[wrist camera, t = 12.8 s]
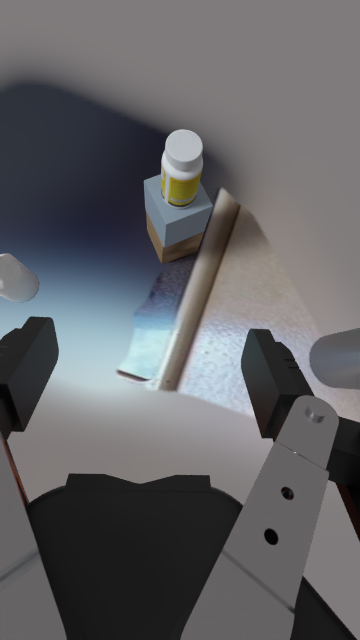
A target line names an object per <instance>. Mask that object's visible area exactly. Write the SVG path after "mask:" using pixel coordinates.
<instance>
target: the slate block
mask: <svg viewBox="0 0 360 640" xmlns="http://www.w3.org/2000/svg"><path fill="white" fill-rule="evenodd" d="M144 189H145V206H146V212H147V214H148V216H149V218H150V220H151V222H152V224H153V226H154V228H155V230H156V232H157V234H158V236H159V238H160V240H161V242H162V244H163V246H164V248H165V247H168V246H170V245H172V244H175V243H177V242H180V241H182V240H185V239H187V238H190V237H192V236H194V235H197V234H199V233H202V232H204V231H205V228H206V225H207V222H208V219H209V216H210V213H211V210H212V207H213V205H212V203H211V201H210V199H209V198H208V196H207V194H206V192H205V190H204V188H203V186H202V184H201V183H200V181H199V185H198V190H197V195H196V198H195V200H194V202H193V203H192V204H191V205H190V206H189V207H187V208H184V209H175V208H172V207H170V206H169V205H167V204H166V203H165V202H164V200H163V198H162V195H161V175H158V176H155V177H152V178H149V179H147V180H145V181H144Z"/></svg>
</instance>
